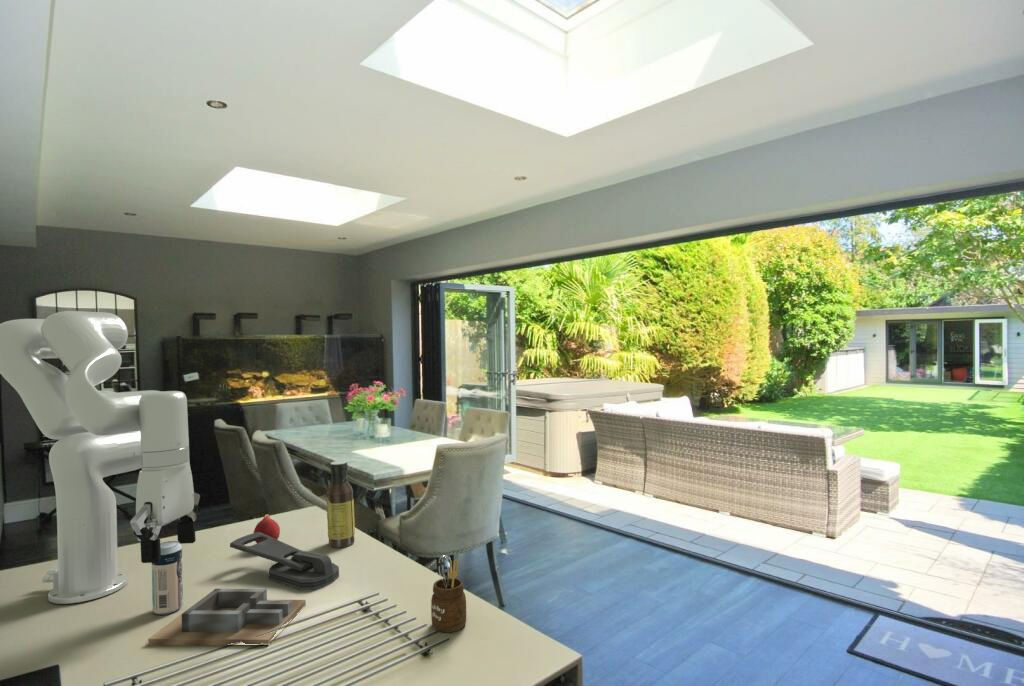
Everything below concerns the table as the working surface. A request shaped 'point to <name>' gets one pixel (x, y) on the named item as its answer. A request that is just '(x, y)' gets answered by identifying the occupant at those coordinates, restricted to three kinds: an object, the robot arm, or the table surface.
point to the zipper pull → (290, 562)
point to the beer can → (168, 579)
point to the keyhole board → (229, 619)
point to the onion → (267, 528)
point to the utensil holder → (448, 602)
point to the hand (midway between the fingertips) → (169, 552)
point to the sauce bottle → (340, 507)
